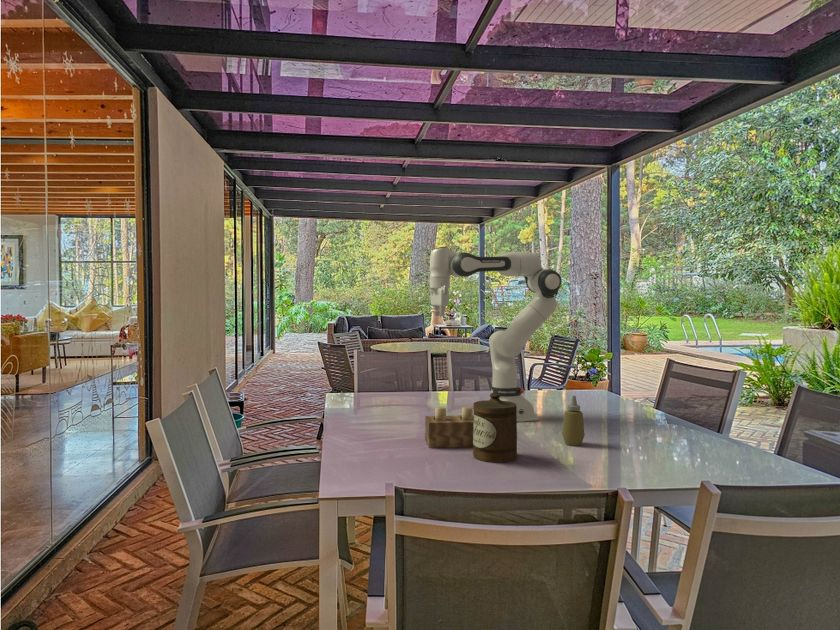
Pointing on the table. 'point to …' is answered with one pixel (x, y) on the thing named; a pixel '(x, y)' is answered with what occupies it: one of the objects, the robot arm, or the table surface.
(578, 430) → the squeeze bottle
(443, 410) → the peg
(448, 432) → the socket block
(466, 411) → the peg
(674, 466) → the table surface
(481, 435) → the wooden container
